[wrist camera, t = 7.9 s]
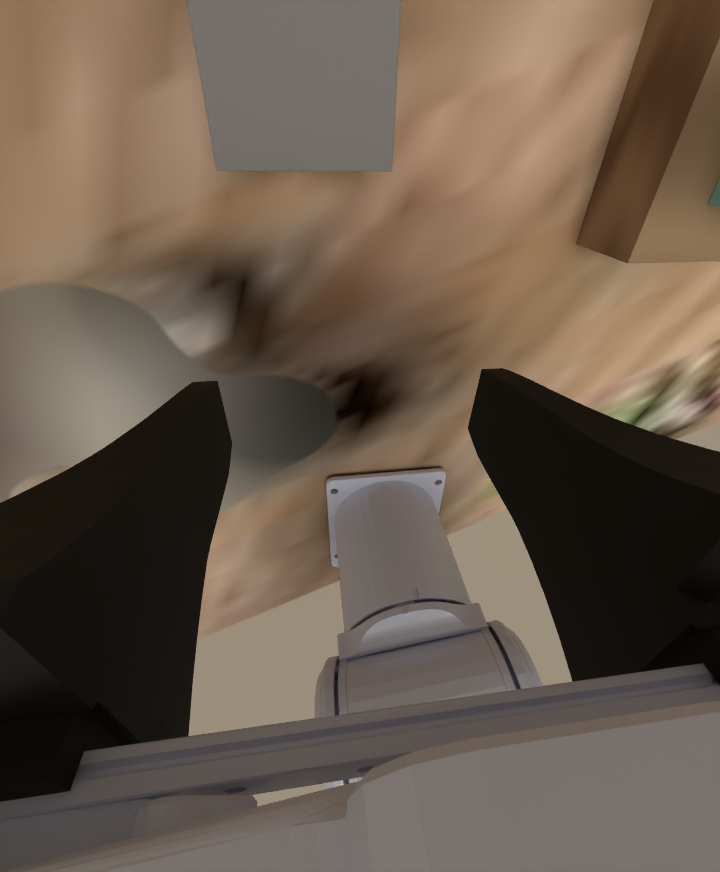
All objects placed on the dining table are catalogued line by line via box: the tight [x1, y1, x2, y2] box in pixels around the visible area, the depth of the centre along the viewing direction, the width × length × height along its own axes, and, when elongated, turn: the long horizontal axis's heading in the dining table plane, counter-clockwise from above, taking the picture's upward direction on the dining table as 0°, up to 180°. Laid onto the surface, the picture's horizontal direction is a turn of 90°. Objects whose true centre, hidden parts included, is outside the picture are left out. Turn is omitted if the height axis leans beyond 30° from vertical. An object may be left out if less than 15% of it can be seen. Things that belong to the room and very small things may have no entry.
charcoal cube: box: [187, 0, 401, 172], centre depth 11 cm, size 5×5×5 cm
